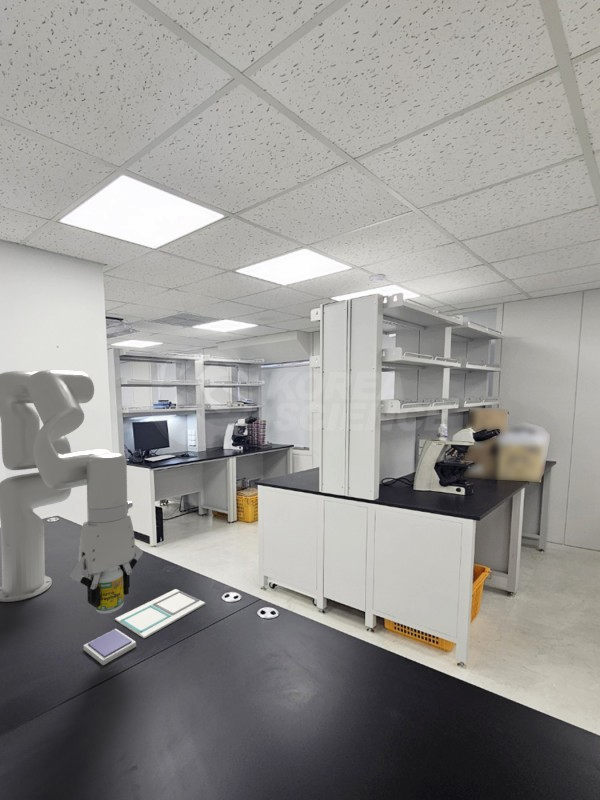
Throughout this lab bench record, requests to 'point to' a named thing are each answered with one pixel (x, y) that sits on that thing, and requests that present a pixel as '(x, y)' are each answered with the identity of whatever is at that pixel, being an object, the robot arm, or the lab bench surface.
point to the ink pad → (109, 646)
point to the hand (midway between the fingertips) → (109, 597)
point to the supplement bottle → (111, 590)
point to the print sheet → (159, 612)
